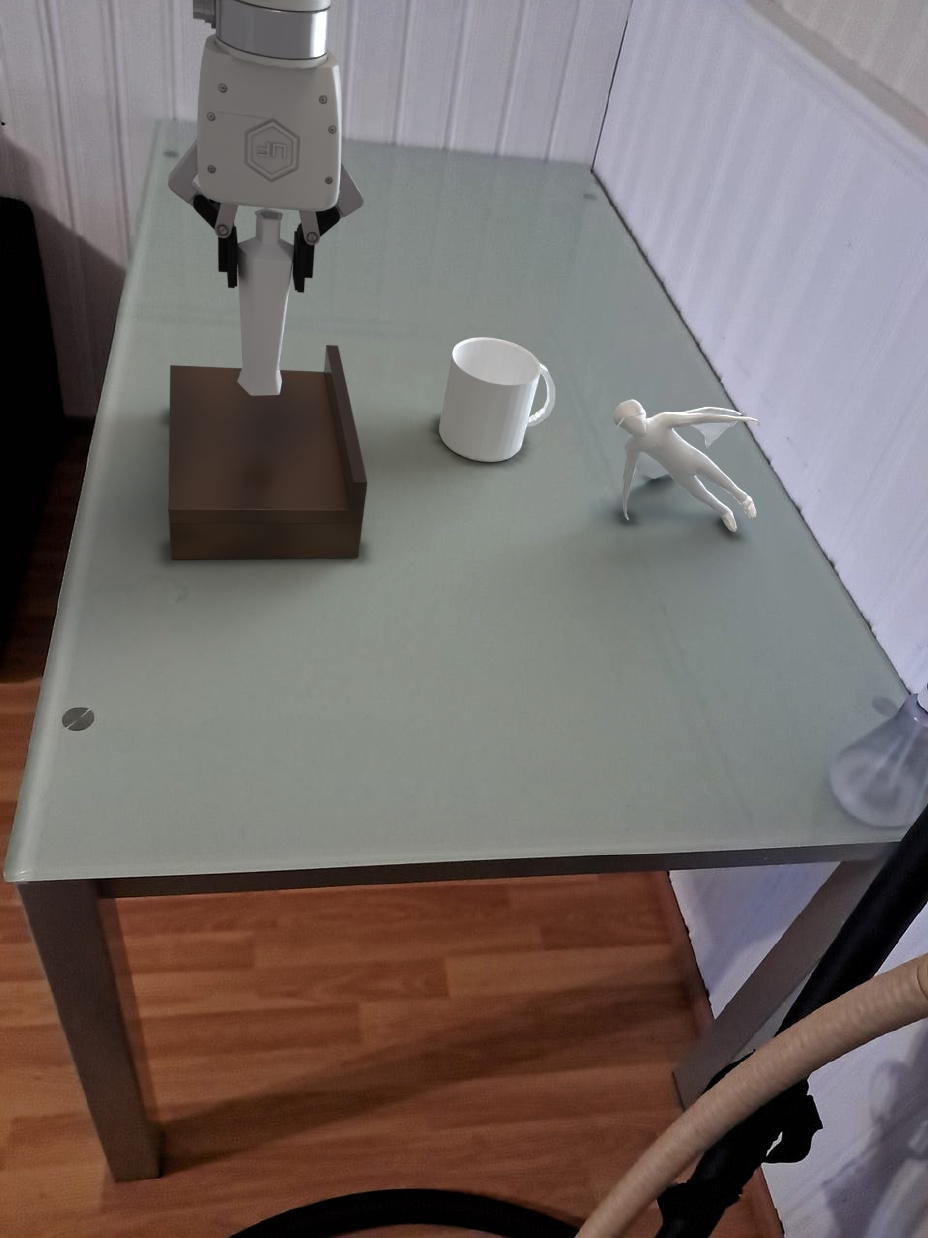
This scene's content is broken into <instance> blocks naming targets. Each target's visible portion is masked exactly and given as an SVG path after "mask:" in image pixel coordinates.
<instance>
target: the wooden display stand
mask: <svg viewBox="0 0 928 1238" xmlns="http://www.w3.org/2000/svg"><path fill="white" fill-rule="evenodd" d="M324 353H325V356H324V366H323V367H324V369H323V371H313V370H291V369H288V370H287V369H280V374H281V379H282V384H281V389H280V394H279V395H259V396H252V395H250V394H249V393H248V392H247V391H246V390H245V389H244V388H243V387H242V386H241V385H240V384H239V383H238V382H237V381H238V378H239V375H240V372H241V369H242V367H220V366H198V365H177V364H176V365H175V364H170V365H169V417H168V418H169V421H168V422H169V424H168V427H169V429H168V432H169V433H168V502H167V503H168V505H167V507H168V523H169V524H168V526H169V527H168V528H169V545H170V546H169V547H170V559H171V560H248V559H249V560H255V559H256V560H265V559H266V560H267V559H268V560H269V559H273V560H274V559H276V560H277V559H278V560H279V559H283V560H284V559H358V558H359V556H360V555H359V554H360V547H361V537H362V532H363V531H362V530H363V522H364V514H365V507H366V498H367V490H368V478H367V473H366V472H367V471H366V469H365V463H364V459H363V454H362V450H361V445H360V442H359V436H358V431H357V427H356V422H355V418H354V412H353V408H352V404H351V399H350V395H349V389H348V385H347V381H346V376H345V372H344V367H343V362H342V361H343V360H342V357H341V352H340V348H339V345H337V344H334V345H333V344H326V345H325V352H324Z"/></svg>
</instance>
